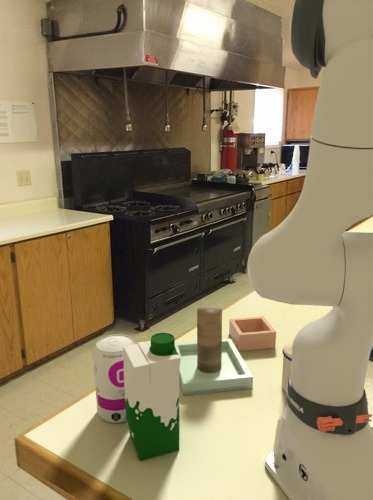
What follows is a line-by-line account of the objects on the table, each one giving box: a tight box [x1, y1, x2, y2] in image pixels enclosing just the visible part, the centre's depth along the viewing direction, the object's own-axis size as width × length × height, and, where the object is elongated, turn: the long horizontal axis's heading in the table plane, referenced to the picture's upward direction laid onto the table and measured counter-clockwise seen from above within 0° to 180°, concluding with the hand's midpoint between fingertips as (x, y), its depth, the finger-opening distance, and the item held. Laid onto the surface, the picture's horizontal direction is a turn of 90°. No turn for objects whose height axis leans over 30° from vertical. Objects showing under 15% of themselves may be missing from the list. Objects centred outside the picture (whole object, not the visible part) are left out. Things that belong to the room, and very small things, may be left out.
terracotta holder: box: [228, 316, 277, 352], centre depth 112 cm, size 10×10×4 cm
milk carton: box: [123, 332, 181, 462], centre depth 73 cm, size 9×9×20 cm
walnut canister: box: [196, 305, 223, 373], centre depth 97 cm, size 6×6×14 cm
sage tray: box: [175, 338, 254, 396], centre depth 98 cm, size 18×15×3 cm
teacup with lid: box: [281, 341, 293, 393], centre depth 91 cm, size 12×9×12 cm
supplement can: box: [92, 333, 136, 424], centre depth 82 cm, size 8×8×15 cm
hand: (300, 233), depth 99 cm, fingers open, 8 cm apart
